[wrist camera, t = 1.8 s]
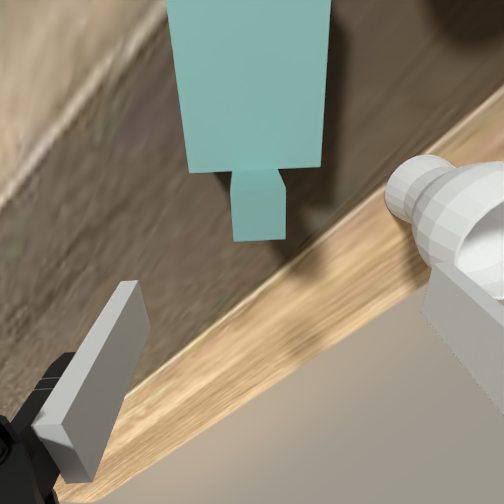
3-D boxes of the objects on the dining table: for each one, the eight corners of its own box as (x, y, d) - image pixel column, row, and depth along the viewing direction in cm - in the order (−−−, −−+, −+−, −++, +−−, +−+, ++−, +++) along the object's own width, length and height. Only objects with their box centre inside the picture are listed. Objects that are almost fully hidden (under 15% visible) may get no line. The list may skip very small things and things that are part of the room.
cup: (422, 243, 39) (514, 323, 26) (354, 209, 37) (416, 277, 24) (485, 166, 35) (634, 215, 22) (412, 122, 32) (529, 146, 19)
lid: (157, -83, 20) (120, -157, 14) (332, -91, 20) (371, -167, 14) (196, 211, 30) (184, 243, 24) (315, 206, 30) (334, 236, 24)
